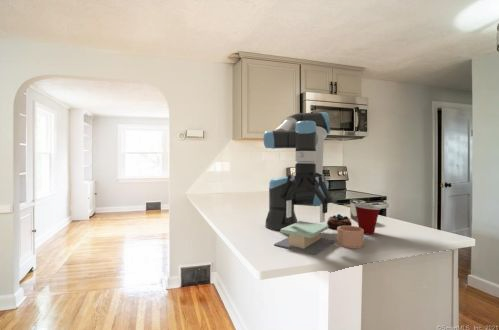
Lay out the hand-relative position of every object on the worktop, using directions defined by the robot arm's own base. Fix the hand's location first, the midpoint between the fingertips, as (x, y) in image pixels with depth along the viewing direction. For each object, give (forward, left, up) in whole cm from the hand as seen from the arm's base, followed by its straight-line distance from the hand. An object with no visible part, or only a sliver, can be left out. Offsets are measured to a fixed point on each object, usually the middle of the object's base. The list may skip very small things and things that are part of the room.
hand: (305, 219), depth 104 cm
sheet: (0, 0, -4) cm, 4 cm away
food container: (+6, +52, -9) cm, 54 cm away
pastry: (+2, +33, -10) cm, 35 cm away
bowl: (+14, +9, -9) cm, 19 cm away
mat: (0, 0, -9) cm, 9 cm away
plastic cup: (+15, +30, -9) cm, 35 cm away
